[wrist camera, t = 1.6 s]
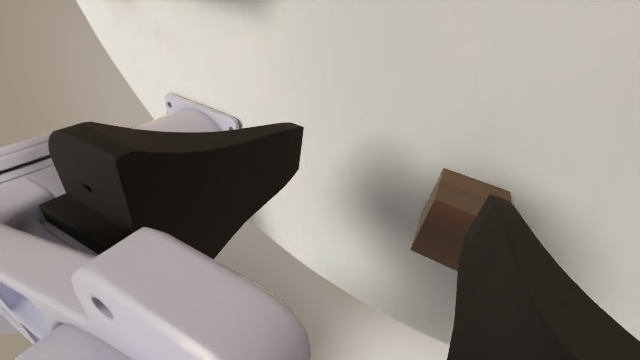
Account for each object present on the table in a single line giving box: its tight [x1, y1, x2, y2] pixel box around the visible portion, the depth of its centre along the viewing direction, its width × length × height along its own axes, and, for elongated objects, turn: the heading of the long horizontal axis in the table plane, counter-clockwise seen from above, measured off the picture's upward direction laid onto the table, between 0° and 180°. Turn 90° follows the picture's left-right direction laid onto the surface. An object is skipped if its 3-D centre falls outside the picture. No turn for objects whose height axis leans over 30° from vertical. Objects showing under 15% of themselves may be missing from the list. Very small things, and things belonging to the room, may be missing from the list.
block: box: [411, 168, 511, 271], centre depth 18 cm, size 4×4×4 cm
